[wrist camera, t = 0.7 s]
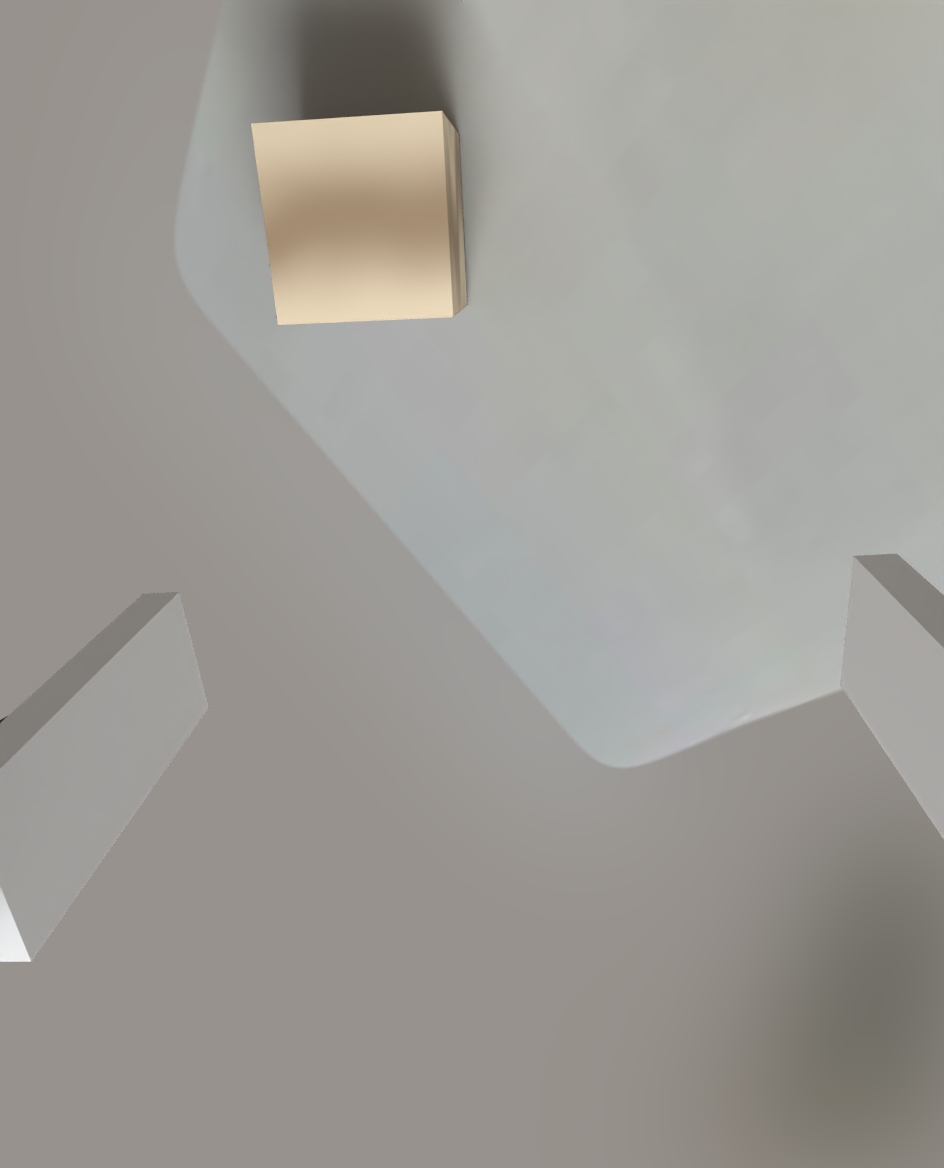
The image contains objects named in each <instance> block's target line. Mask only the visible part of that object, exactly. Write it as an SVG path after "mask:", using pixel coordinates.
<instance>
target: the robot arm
mask: <svg viewBox="0 0 944 1168" xmlns="http://www.w3.org/2000/svg"><path fill="white" fill-rule="evenodd" d="M840 685H841V687H842V688H843V690H844V691H845V693H846V694H847V696H848V697H849V698H850V700H851V702H852V703H853V705H854V706H855V707H856V709H857V710H858V712H859V713H860V715H861V716H862V718H863V719H864V721H865V722H866V724H867V725H868V727H869V728H870V730H871V731H872V733H873V734H874V736H875V737H876V739H877V740H878V742H879V743H880V745H881V746H882V748H883V749H884V751H885V752H886V754H887V755H888V757H889V758H890V760H891V761H892V763H893V764H894V766H895V767H896V769H897V770H898V771H899V773H900V775H901V776H902V778H903V779H904V781H905V782H906V784H907V785H908V787H909V788H910V790H911V791H912V793H913V794H914V796H915V797H916V799H917V800H918V802H919V803H920V805H921V806H922V808H923V809H924V811H925V812H926V814H927V815H928V817H929V818H930V820H931V821H932V823H933V824H934V826H935V827H936V828H937V830H938V832H939V833H940V835H941V836H942V838H943V839H944V595H943V594H941V593H940V592H939V591H938V590H937V589H936V588H935V587H934V586H932V585H931V584H930V583H929V582H928V581H927V580H926V579H925V578H923V577H922V576H921V575H920V574H919V573H918V572H917V571H916V570H915V569H913V568H912V567H911V566H910V565H909V564H908V563H907V562H906V561H904V560H903V559H902V558H901V557H900V556H899V555H898V554H882V555H863V556H854V557H853V566H852V576H851V586H850V596H849V605H848V615H847V625H846V635H845V644H844V654H843V664H842V674H841V683H840ZM207 710H208V704H207V700H206V696H205V692H204V688H203V684H202V681H201V677H200V673H199V669H198V665H197V661H196V657H195V653H194V649H193V645H192V641H191V637H190V633H189V629H188V625H187V621H186V617H185V614H184V610H183V605H182V602H181V598H180V594H179V592H167V593H149V594H142V595H141V596H140V597H139V598H138V599H137V600H136V601H135V602H134V603H133V604H131V605H130V606H129V607H128V608H127V609H126V610H125V611H124V612H123V613H121V614H120V615H119V616H118V617H117V618H116V619H115V620H114V621H113V622H111V623H110V624H109V625H108V626H107V627H106V628H105V629H104V630H103V631H102V632H101V633H99V634H98V635H97V636H96V637H95V638H94V639H93V640H92V641H90V642H89V644H87V645H86V646H85V647H84V648H83V649H82V650H81V651H79V652H78V653H77V654H76V655H75V656H74V657H73V658H72V659H71V660H69V661H68V662H67V663H66V664H65V665H64V666H63V667H62V668H61V669H60V670H58V671H57V672H56V673H55V674H54V675H53V676H52V677H51V678H50V679H48V680H47V681H46V682H45V683H44V684H43V685H42V686H41V687H40V688H39V689H37V690H36V691H35V692H34V693H33V694H32V695H31V696H30V697H29V698H28V699H27V700H25V701H24V702H23V703H22V704H21V705H20V706H19V707H18V708H16V709H15V710H14V711H13V712H12V713H11V714H10V715H9V716H7V717H5V718H3V719H2V720H0V961H1V962H4V961H5V962H8V961H10V962H12V961H14V962H16V961H32V960H33V958H34V957H35V955H36V954H37V953H38V951H39V950H40V948H41V947H42V945H43V944H44V942H45V941H46V940H47V938H48V937H49V935H50V934H51V933H52V931H53V930H54V928H55V927H56V925H57V924H58V922H59V921H60V920H61V918H62V917H63V915H64V914H65V913H66V911H67V910H68V908H69V907H70V905H71V904H72V902H73V901H74V900H75V898H76V897H77V895H78V894H79V893H80V891H81V890H82V888H83V887H84V885H85V884H86V883H87V881H88V880H89V878H90V877H91V875H92V874H93V872H94V871H95V870H96V868H97V867H98V865H99V864H100V863H101V861H102V860H103V858H104V857H105V855H106V854H107V853H108V851H109V849H110V848H111V847H112V845H113V844H114V843H115V841H116V840H117V838H118V837H119V835H120V834H121V833H122V831H123V830H124V828H125V827H126V825H127V824H128V823H129V821H130V820H131V818H132V817H133V815H134V814H135V812H136V811H137V810H138V808H139V807H140V805H141V804H142V803H143V801H144V800H145V798H146V797H147V795H148V794H149V792H150V791H151V790H152V788H153V787H154V785H155V784H156V782H157V781H158V780H159V778H160V777H161V775H162V774H163V773H164V771H165V770H166V768H167V767H168V765H169V764H170V762H171V761H172V760H173V758H174V757H175V755H176V754H177V752H178V751H179V749H180V748H181V747H182V745H183V744H184V742H185V741H186V740H187V738H188V737H189V735H190V734H191V732H192V731H193V730H194V728H195V727H196V725H197V724H198V722H199V721H200V720H201V718H202V717H203V715H204V714H205V713H206V711H207Z"/></svg>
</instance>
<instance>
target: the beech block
mask: <svg viewBox="0 0 944 1168" xmlns="http://www.w3.org/2000/svg"><path fill="white" fill-rule="evenodd" d="M251 127H252V134H253V142H254V149H255V157H256V164H257V172H258V179H259V186H260V194H261V201H262V209H263V216H264V224H265V231H266V239H267V246H268V254H269V261H270V269H271V276H272V283H273V291H274V298H275V306H276V313H277V321H278V325H285V324H307V323H330V322H353V321H375V320H398V319H420V318H443V317H454V316H455V315H456V314H457V313H459V312H460V311H461V310H462V309H463V308H465V307H466V306H467V305H468V304H467V283H466V262H465V241H464V220H463V198H462V177H461V156H460V135H459V134H458V132H457V131H456V130H455V128H454V127H453V125H452V124H451V123H450V121H449V120H448V118H447V117H446V116H445V114H444V113H443V111H431V112H416V113H401V114H387V115H372V116H357V117H342V118H327V119H312V120H297V121H282V122H267V123H252V124H251Z"/></svg>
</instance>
